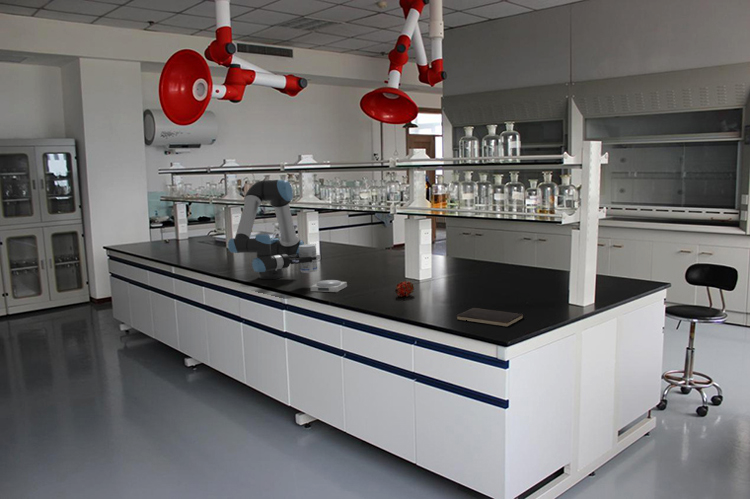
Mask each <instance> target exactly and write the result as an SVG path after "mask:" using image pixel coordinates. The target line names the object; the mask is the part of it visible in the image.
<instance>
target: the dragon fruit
mask: <svg viewBox="0 0 750 499" xmlns="http://www.w3.org/2000/svg"><path fill="white" fill-rule="evenodd" d="M394 292H395V293H396V295H397V298H398V297H401V298H403V297H407V298H408V297H410V296H411V294H413V293H414V292H415V287H414V284H413V283H412V281H407V280H405V279H404V281H400V282H399V283H397V284H396V286H395V289H394Z"/></svg>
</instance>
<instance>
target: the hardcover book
mask: <svg viewBox="0 0 750 499" xmlns="http://www.w3.org/2000/svg"><path fill="white" fill-rule="evenodd" d="M455 316H456V318H457V319H456V320H459V321H466V320H467V322H475V323H482V324H487V325H494V326H502V327H509V326H511V325H512V324H514V323H517V322H518V321H519V320H521V319H524V314H523V313H515V312H508V311H501V310H492V309H485V308H478V307H477V308H476V307H472V308H470V309H467V310H465V311H462V312H461V313H459V314H457V315H455Z"/></svg>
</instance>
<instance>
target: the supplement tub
mask: <svg viewBox="0 0 750 499" xmlns="http://www.w3.org/2000/svg"><path fill="white" fill-rule="evenodd" d="M314 255H317V248H316V244H314V243H308V244H305V243H304V245H300V246H299V257H310V256H314ZM299 271H300V272H301V273H303V274H304V273H305V274H312V273H315V272H317V271H318V260H315V261H312V262H311V263H310V262H306V263H299Z"/></svg>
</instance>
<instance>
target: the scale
mask: <svg viewBox="0 0 750 499" xmlns="http://www.w3.org/2000/svg"><path fill="white" fill-rule="evenodd" d="M347 283H348V282H347V281H341V280H336V279H327V280H326V279H324V280H319V281H317V282H316V283H315V284H312V285H310V287H309V288H310V292H326V293H328V292H329V293H338V292H340V291H341V290H343V289H345V288H347V287H348V284H347Z"/></svg>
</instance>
